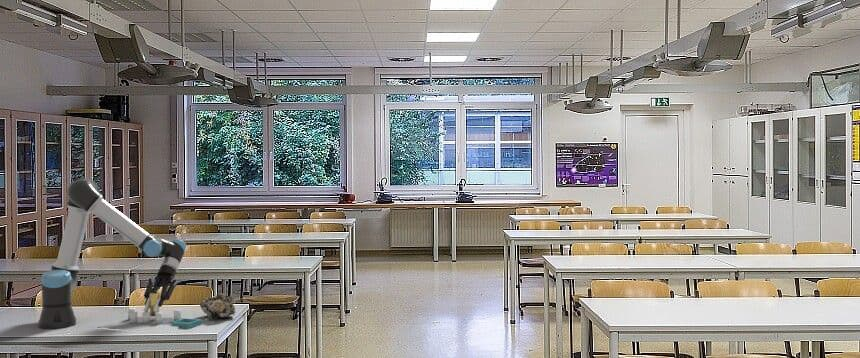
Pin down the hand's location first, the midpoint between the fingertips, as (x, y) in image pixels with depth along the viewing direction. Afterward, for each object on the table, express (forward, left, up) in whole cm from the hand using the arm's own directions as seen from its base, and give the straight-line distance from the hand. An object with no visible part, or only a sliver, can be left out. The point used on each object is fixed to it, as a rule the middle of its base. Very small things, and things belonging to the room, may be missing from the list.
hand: (150, 311), depth 368 cm
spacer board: (0, +2, -5) cm, 5 cm away
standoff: (-1, +4, -2) cm, 5 cm away
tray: (+19, +1, -5) cm, 19 cm away
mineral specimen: (+21, +20, -5) cm, 29 cm away
